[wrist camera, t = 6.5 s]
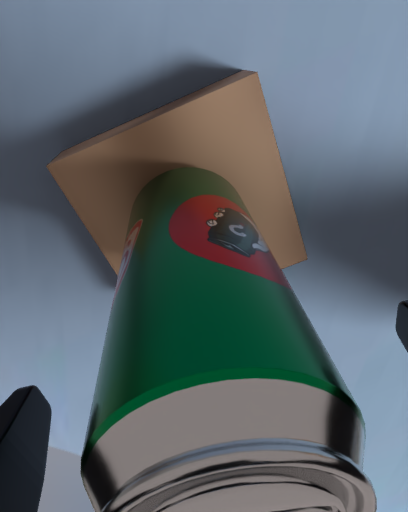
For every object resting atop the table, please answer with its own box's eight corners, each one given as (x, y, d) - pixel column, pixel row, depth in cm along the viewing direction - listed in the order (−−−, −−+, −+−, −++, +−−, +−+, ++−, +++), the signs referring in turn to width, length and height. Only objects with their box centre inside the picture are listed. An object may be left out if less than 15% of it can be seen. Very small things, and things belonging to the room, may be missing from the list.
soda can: (115, 178, 14) (-9, 498, 4) (234, 151, 14) (427, 402, 4) (148, 275, 17) (127, 624, 6) (249, 253, 17) (388, 567, 6)
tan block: (243, 69, 15) (257, 71, 13) (291, 236, 19) (307, 259, 17) (61, 151, 16) (46, 166, 14) (148, 292, 20) (146, 320, 18)
